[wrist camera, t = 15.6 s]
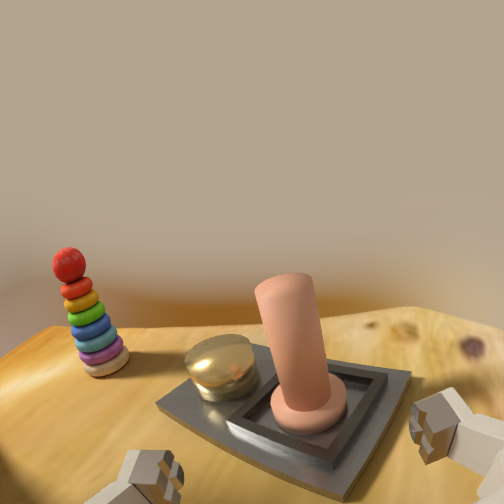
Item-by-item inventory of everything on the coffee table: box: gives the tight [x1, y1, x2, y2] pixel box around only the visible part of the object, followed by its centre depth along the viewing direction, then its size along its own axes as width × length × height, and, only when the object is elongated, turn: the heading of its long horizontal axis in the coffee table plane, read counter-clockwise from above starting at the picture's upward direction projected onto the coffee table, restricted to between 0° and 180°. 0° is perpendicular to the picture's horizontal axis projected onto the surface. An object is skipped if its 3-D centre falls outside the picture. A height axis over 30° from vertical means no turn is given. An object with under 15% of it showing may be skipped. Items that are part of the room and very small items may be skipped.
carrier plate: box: [155, 334, 412, 503], centre depth 27 cm, size 22×14×5 cm, turn 50°
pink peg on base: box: [255, 273, 347, 435], centre depth 23 cm, size 6×6×12 cm
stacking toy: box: [53, 247, 129, 376], centre depth 40 cm, size 8×8×19 cm
